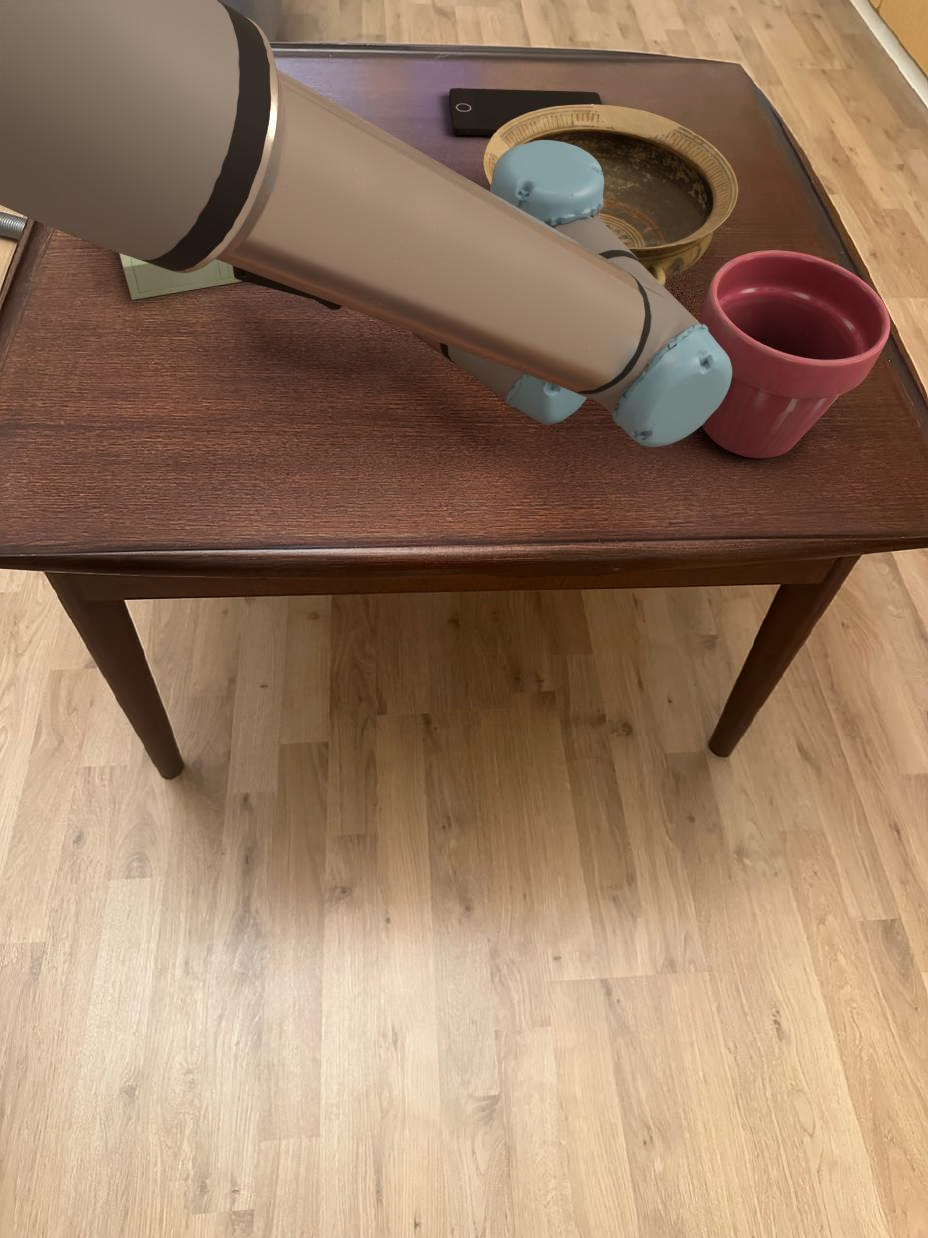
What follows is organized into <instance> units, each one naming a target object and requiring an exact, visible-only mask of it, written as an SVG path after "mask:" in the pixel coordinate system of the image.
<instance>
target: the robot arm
mask: <svg viewBox="0 0 928 1238" xmlns="http://www.w3.org/2000/svg"><path fill="white" fill-rule="evenodd" d="M603 189H604V177H603V172H602V171H601V166H600V165H599V163H598V161H597V160H596V159H595V158H594V157H593V156H592V155H590V154H589V153H588V152H586V151H585V150H583V149H581V148H579V147H577V146H574V145H571V144H568V143H564V142H559V141H552V140H538V141H533V142H530V143H526V144H519V145H516V146H514V147H512V148H511V149H509V150H507V151H506V152H505V153H504V154H503V155H502V156H501V157H500V158H499V159H498V161H497V163H496V164H495V167H494V170H493V175H492V181H491V186H490V189H489V190H488V189H486V188H484V187H482V185H479V184H477V183H476V182H474V181H473V180H471V179H468V178H467V177H465V176H464V175H462V174H460V173H459V172H456V171H455V170H453V169H451V168H450V167H448V166H446V165H444V164H443V163H441V162H440V161H438V160H436V159H434V158H432V157H431V156H430V155H427V154H425V153H424V152H422V151H421V150H419V149H416V148H415V147H414V146H412V145H410V144H409V143H407V142H405V141H403V140H401V139H399V138H397V137H396V136H394V135H392V134H391V133H389V132H387V131H385V130H384V129H382V128H380V127H378V126H376V125H375V124H373V123H372V122H370V121H368V120H366V119H365V118H364V117H361V116H359V115H358V114H356V113H354V112H352V111H351V110H349V109H348V108H346V107H344V106H342V105H340V104H339V103H337V102H335V101H334V100H332V99H330V98H329V97H326V96H325V95H323V94H321V93H320V92H319V91H316V90H314V89H313V88H311V87H309V86H307V84H304V83H302V82H300V81H299V80H297V79H295V78H294V77H292V76H290V75H288V74H287V73H285V72H283V71H281V70H280V69H278V67H277V64H276V60H275V55H274V51H273V49H272V46H271V43H270V41H269V38H268V37H267V35H266V34H265V32H264V31H263V29H262V28H261V27H260V26H259V25H258V24H257V23H256V22H255V21H254V20H252V19H251V18H249V17H247V16H245V14H243V13H241V12H239V11H238V10H236V9H235V8H233V7H231V6H229V5H228V4H226V3H225V2H223V1H221V0H0V206H1V207H4V208H6V209H8V210H9V211H13V212H15V213H17V214H20V215H22V216H24V217H25V218H29V219H30V220H33V221H35V222H38V223H39V224H42V225H45V226H47V227H50V228H52V229H55V230H57V231H60V232H63V233H65V234H68V235H70V236H73V237H75V238H78V239H81V240H82V241H85V242H88V243H90V244H93V245H95V246H98V247H100V248H103V249H106V250H108V251H112V252H115V253H117V254H119V253H120V254H123V255H126V256H129V257H133V258H135V259H138V260H141V261H144V262H147V263H150V264H153V265H156V266H158V267H161V268H164V269H167V270H170V271H173V272H176V273H189V272H194V271H196V270H199V269H201V268H203V267H205V266H206V265H208V264H209V263H210V262H212V261H213V260H215V259H217V260H219V261H222V262H225V263H228V264H230V265H232V268H233V273H234V277H235V278H236V279H238V280H241V281H242V282H244V283H249V284H253V285H257V286H259V287H260V286H261V287H264V288H267V289H272V290H275V291H280V292H282V293H286V294H290V295H295V296H298V297H302V298H305V299H309V300H313V301H315V302H318V303H319V304H321V305H322V306H324V307H326V308H328V309H329V310H332V311H338V310H340V309H341V308H342V307H344V308H346V309H349V310H351V311H355V312H357V313H360V314H362V315H366V316H368V317H371V318H373V319H376V320H379V321H382V322H384V323H386V324H390V325H393V326H395V327H397V328H400V329H403V330H406V331H408V332H411V333H412V334H413V336H414V337H416V338H418V339H419V340H421V342H423V343H424V344H426V345H428V346H429V347H430V348H431V349H433V350H434V351H436V352H437V353H438V354H439V355H441V356H442V357H444V358H445V359H447V360H448V361H449V362H451V363H453V364H454V365H456V366H458V367H459V368H460V369H462V370H463V371H464V372H466V373H467V374H469V376H471V377H472V378H474V379H475V380H476V381H478V382H479V383H480V384H482V385H483V386H485V387H486V388H487V389H489V390H490V391H491V392H492V393H493V394H494V395H496V396H498V397H499V398H500V399H502V401H504V403H505V404H506V405H507V406H508V407H512V408H514V409H516V410H517V411H519V412H520V413H522V414H523V415H526V416H527V417H529V418H531V419H532V420H534V421H536V422H537V423H539V424H542V425H546V426H547V425H548V426H549V425H556V424H558V423H562V422H563V421H565V420H566V419H568V418H569V417H570V416H572V415H573V414H575V413H576V412H577V411H578V410H579V409H580V408H581V406H582V405H583V404H584V403H585V402H586V400H587V399H590V400H592V401H594V402H597V403H598V404H600V405H601V406H602V407H604V409H606V410H607V412H608V413H609V414H610V416H611V419H612V422H614V424H615V426H617V427H620V428H621V429H622V430H623V431H624V432H625V433H626V434H627V435H628V436H629V437H630V438H631V439H632V440H634V441H635V442H636V443H637V444H639V445H641V446H644V447H648V448H658V447H665V446H666V447H667V446H669V445H672V444H675V443H677V442H679V441H681V440H683V439H685V438H687V437H688V436H690V435H692V433H694V432H696V431H697V430H698V429H699V428H700V427H702V425H703V424H704V423H705V421H706V420H707V419H708V418H709V417H710V416H711V415H712V413H713V412H714V411H715V410H716V409H717V408H718V407H719V406H720V404H721V403H722V401H723V399H724V398H725V396H726V394H727V392H728V389H729V386H730V383H731V378H732V366H731V362H730V359H729V357H728V355H727V354H726V352H725V351H724V350H723V349H722V348H721V346H720V345H719V344H718V343H717V342H716V340H715V339H714V338H713V337H712V335H711V334H710V333H709V329H708V327H707V326H706V325H704V324H702V325H701V324H700V323H699V320H697V319H696V317H695V316H693V314H692V313H690V312H689V310H688V309H686V307H685V306H684V305H683V304H682V303H680V301H678V300H677V298H675V296H674V295H672V294H671V292H670V291H669V290H667V289H666V287H665V286H664V287H663V286H662V285H661V284H660V283H659V282H658V281H657V280H656V279H655V278H654V277H653V276H652V274H651V273H650V272H649V271H648V270H647V269H646V268H645V267H644V266H643V265H642V263H641V262H640V261H639V260H638V258H637V257H636V256H635V255H634V254H633V253H632V252H631V251H630V250H629V249H628V248H627V247H626V246H625V245H624V244H623V243H622V242H621V240H620V239H619V238H618V237H617V236H616V235H615V234H614V233H613V232H612V231H611V230H610V229H609V228H608V227H607V226H606V225H605V224H604V223H603V222H602V221H601V219H600V215H599V214H600V211H601V208H602V207H603V203H604V202H603V200H604V199H603Z"/></svg>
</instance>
